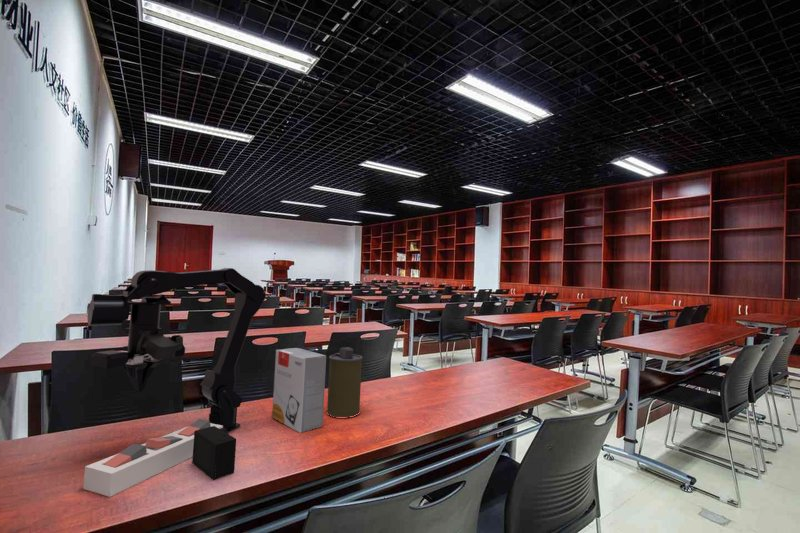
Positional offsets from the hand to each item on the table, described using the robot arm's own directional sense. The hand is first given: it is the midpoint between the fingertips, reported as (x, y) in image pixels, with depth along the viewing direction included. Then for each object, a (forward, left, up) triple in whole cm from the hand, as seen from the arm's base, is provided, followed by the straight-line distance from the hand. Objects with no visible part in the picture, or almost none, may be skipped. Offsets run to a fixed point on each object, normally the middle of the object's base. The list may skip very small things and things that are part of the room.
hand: (139, 392), depth 86 cm
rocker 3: (-6, +11, -9) cm, 16 cm away
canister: (-43, +31, -13) cm, 55 cm away
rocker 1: (+10, +11, -9) cm, 17 cm away
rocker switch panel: (+1, +11, -13) cm, 17 cm away
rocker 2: (+2, +11, -9) cm, 14 cm away
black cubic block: (-1, +23, -13) cm, 26 cm away
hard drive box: (-30, +23, -13) cm, 40 cm away
